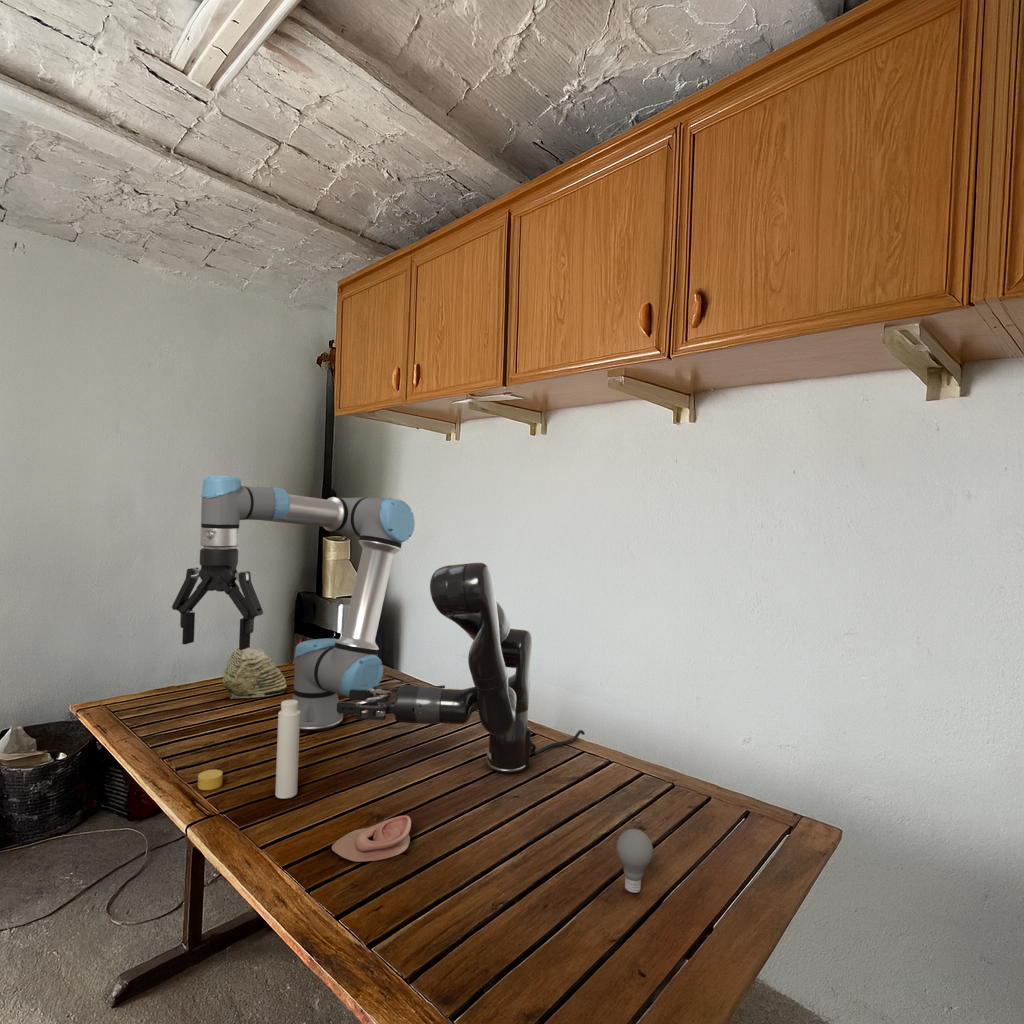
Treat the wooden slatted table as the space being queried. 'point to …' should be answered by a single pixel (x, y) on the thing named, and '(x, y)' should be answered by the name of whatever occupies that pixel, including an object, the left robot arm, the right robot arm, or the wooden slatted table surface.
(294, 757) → the white bottle
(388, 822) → the anatomical model
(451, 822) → the wooden slatted table surface
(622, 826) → the wooden slatted table surface
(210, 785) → the lid
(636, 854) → the light bulb
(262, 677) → the fossil
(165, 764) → the wooden slatted table surface
